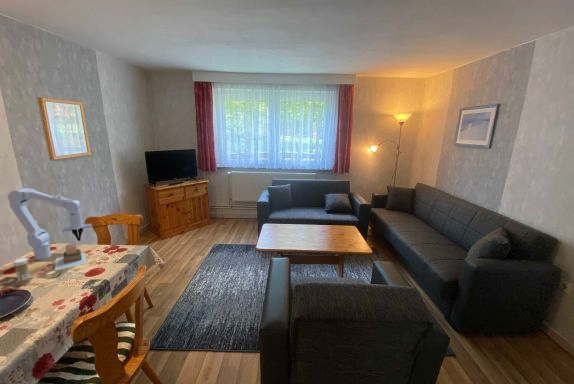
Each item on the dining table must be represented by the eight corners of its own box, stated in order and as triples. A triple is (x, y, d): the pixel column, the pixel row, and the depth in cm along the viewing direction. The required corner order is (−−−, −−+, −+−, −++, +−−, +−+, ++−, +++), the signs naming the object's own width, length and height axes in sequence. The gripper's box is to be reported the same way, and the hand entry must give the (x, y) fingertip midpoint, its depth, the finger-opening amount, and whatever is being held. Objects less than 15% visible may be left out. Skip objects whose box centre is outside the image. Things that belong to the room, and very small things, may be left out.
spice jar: (30, 285, 128) (25, 261, 125) (17, 287, 126) (11, 263, 123) (32, 280, 132) (27, 257, 129) (20, 283, 129) (15, 259, 126)
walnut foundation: (64, 258, 154) (63, 251, 153) (81, 254, 159) (80, 248, 158) (64, 263, 148) (63, 256, 147) (81, 259, 153) (80, 253, 152)
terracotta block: (67, 253, 152) (65, 245, 151) (77, 251, 155) (75, 243, 154) (67, 256, 149) (65, 248, 148) (77, 254, 152) (75, 246, 151)
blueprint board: (56, 260, 153) (55, 258, 152) (85, 254, 162) (85, 252, 161) (54, 272, 140) (54, 270, 140) (86, 264, 149) (86, 263, 149)
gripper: (59, 223, 147) (63, 245, 150) (91, 219, 156) (93, 239, 159) (60, 220, 152) (63, 241, 155) (90, 216, 161) (93, 236, 164)
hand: (79, 240), depth 157 cm, fingers closed
